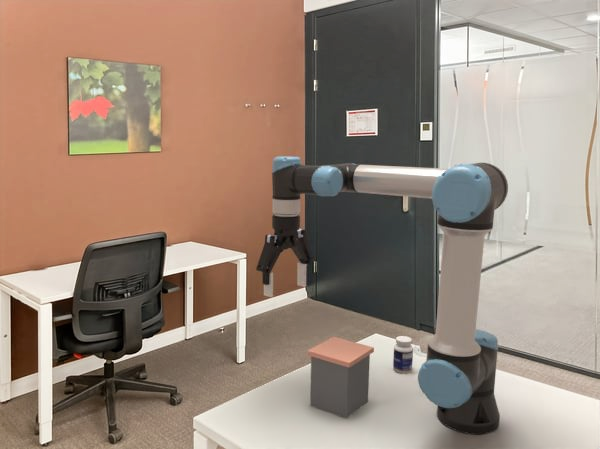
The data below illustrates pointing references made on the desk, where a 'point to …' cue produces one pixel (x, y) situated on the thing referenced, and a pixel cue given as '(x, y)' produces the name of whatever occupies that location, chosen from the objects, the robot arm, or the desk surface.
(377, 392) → the desk surface
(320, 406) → the bin
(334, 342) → the lid
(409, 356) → the pill bottle
